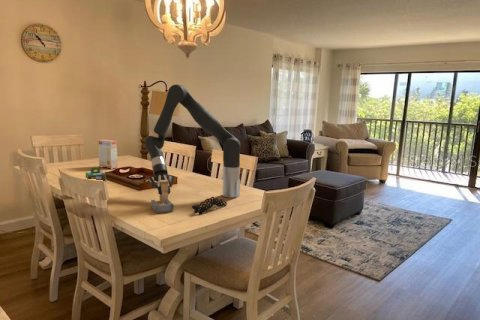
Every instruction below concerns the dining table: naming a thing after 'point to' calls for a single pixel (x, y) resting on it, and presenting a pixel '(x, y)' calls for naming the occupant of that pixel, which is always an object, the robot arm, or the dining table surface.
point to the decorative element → (208, 205)
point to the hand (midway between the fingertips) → (164, 193)
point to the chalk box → (96, 174)
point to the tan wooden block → (164, 190)
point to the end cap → (162, 206)
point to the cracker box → (108, 153)
